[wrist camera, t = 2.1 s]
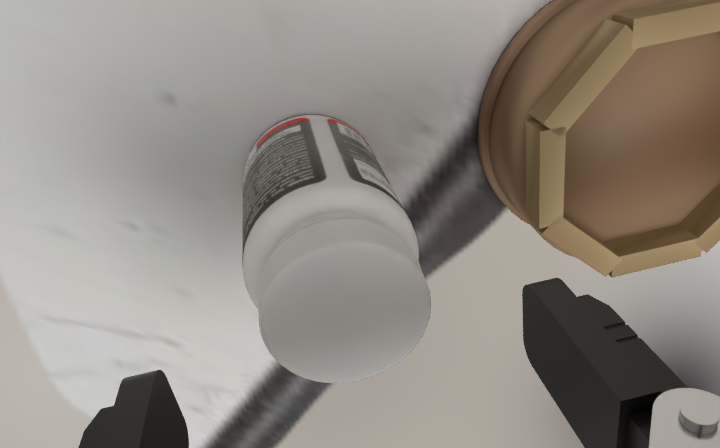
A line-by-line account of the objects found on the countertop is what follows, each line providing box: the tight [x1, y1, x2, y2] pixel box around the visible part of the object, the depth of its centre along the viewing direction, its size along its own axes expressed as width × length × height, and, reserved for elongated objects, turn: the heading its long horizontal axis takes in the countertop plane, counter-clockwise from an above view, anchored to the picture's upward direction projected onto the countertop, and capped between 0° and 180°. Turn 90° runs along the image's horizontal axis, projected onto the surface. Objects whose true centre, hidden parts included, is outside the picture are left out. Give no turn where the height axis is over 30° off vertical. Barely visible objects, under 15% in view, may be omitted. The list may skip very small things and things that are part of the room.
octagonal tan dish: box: [477, 0, 720, 277], centre depth 19 cm, size 10×10×4 cm
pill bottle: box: [242, 115, 431, 383], centre depth 16 cm, size 5×5×8 cm
